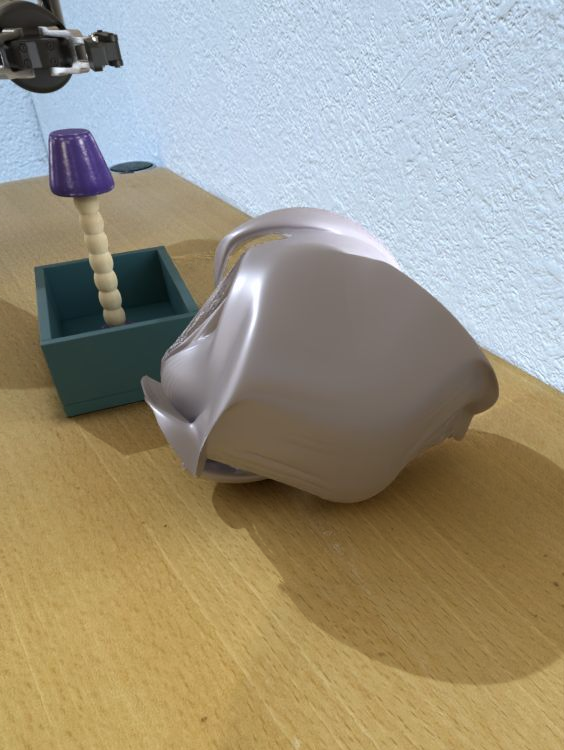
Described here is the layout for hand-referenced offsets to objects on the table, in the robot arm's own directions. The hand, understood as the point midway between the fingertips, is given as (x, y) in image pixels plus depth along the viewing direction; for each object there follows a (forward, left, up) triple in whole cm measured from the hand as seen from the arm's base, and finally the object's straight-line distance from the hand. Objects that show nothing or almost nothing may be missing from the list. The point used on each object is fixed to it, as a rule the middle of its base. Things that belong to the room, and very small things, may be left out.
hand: (44, 61), depth 59 cm
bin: (+6, -14, -21) cm, 25 cm away
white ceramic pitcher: (+24, -32, -21) cm, 45 cm away
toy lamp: (+6, -14, -20) cm, 25 cm away
